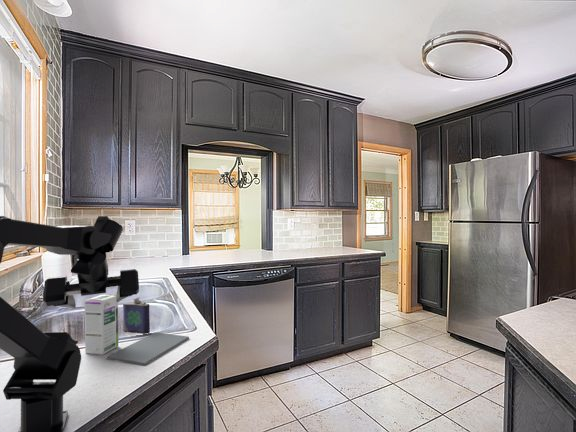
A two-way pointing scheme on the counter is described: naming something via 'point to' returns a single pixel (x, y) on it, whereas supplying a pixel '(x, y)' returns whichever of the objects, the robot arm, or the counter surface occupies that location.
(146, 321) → the flask
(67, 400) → the counter surface
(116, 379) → the counter surface
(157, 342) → the slate mat
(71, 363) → the robot arm
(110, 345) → the syrup box
